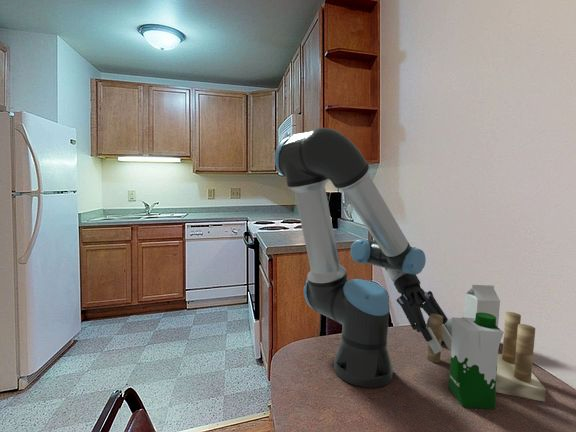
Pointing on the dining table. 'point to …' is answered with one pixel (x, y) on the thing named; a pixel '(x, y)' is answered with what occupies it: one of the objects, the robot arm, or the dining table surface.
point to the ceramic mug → (448, 324)
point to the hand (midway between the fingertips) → (445, 349)
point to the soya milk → (474, 360)
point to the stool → (518, 361)
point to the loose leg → (436, 328)
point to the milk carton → (482, 301)
